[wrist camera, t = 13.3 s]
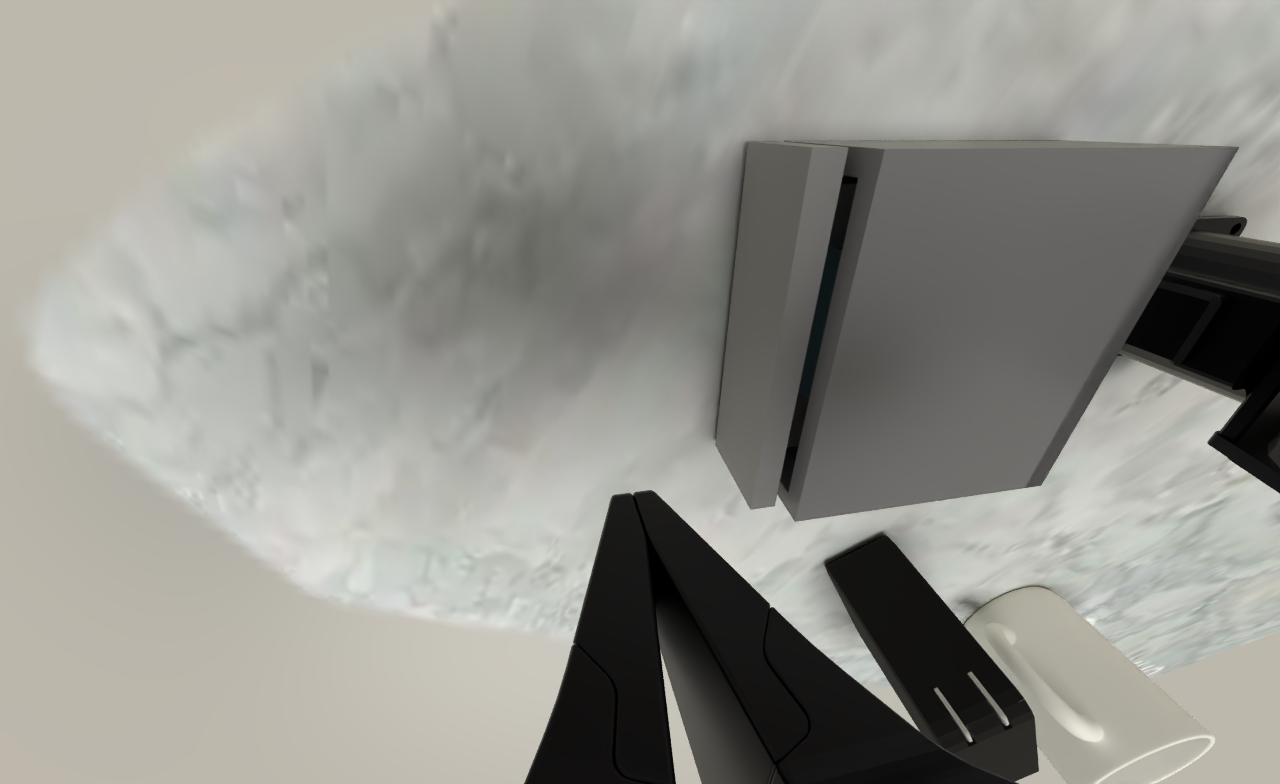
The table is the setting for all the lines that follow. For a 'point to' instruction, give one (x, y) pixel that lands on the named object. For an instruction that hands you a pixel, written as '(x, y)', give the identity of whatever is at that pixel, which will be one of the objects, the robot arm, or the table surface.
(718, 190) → the table surface
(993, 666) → the electronic device
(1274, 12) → the table surface
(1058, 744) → the cup
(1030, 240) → the grey drawer box
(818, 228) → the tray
